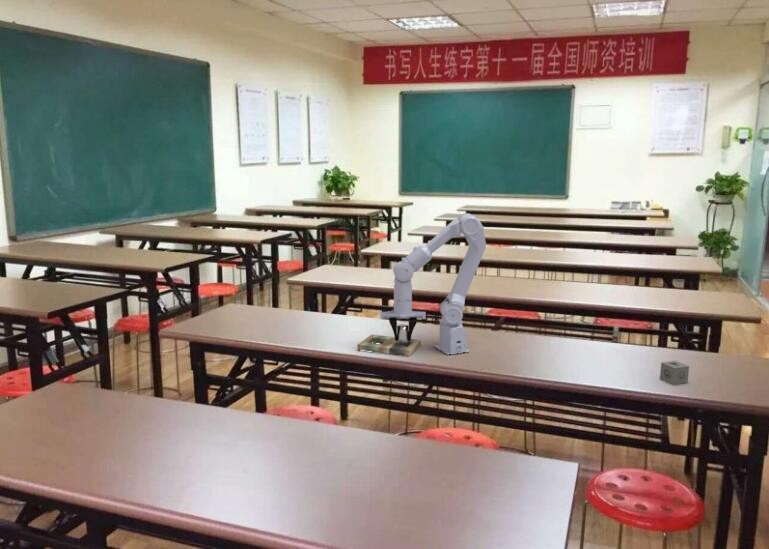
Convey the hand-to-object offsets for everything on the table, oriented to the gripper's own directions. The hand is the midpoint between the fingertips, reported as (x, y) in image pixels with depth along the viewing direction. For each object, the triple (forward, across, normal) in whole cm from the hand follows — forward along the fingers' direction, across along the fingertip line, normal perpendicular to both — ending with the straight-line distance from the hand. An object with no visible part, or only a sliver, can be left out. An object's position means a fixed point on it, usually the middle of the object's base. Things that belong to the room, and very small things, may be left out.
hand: (402, 340), depth 202 cm
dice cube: (+3, +75, -29) cm, 80 cm away
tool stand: (+3, -4, +2) cm, 6 cm away
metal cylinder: (+3, 0, 0) cm, 3 cm away
